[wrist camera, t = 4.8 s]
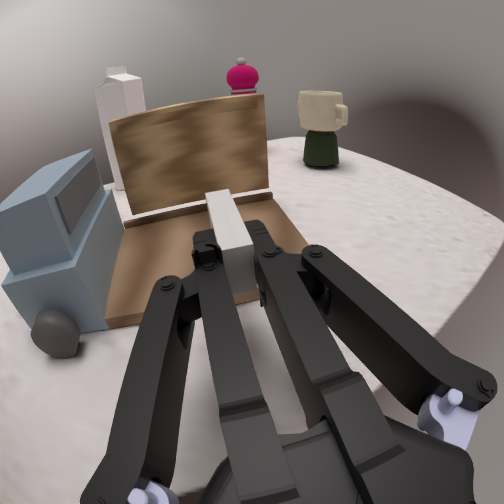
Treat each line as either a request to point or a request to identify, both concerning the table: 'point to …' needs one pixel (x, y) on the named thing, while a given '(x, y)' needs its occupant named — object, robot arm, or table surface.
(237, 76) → the pepper mill
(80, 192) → the cab
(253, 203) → the flatbed
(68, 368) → the table surface
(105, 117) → the milk
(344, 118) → the character mug
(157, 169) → the side gate
